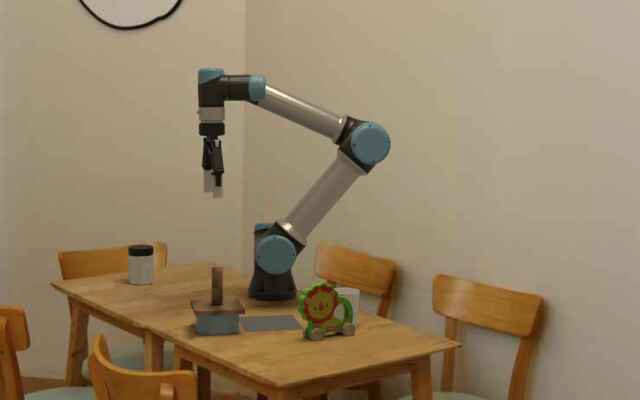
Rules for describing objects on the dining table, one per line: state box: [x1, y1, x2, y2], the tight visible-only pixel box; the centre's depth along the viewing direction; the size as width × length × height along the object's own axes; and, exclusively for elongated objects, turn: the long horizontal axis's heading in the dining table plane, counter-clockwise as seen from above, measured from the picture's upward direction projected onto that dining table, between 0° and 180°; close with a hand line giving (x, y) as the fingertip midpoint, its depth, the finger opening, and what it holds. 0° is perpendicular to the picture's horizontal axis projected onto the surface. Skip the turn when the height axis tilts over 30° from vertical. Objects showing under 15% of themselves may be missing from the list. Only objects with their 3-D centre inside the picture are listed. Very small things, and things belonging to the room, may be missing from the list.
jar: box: [127, 244, 155, 284], centre depth 313 cm, size 9×8×12 cm
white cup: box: [334, 287, 361, 329], centre depth 262 cm, size 8×8×10 cm
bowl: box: [195, 314, 240, 336], centre depth 255 cm, size 11×11×6 cm
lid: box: [189, 266, 246, 317], centre depth 254 cm, size 13×13×11 cm
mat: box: [239, 314, 304, 333], centre depth 263 cm, size 16×16×1 cm
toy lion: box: [297, 281, 356, 342], centre depth 249 cm, size 16×6×15 cm, turn 122°
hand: (213, 195), depth 278 cm, fingers open, 13 cm apart
